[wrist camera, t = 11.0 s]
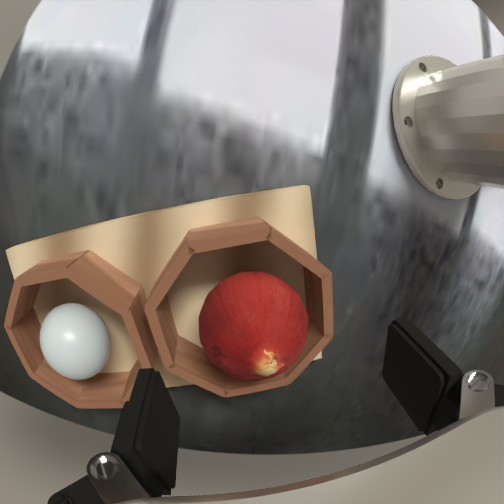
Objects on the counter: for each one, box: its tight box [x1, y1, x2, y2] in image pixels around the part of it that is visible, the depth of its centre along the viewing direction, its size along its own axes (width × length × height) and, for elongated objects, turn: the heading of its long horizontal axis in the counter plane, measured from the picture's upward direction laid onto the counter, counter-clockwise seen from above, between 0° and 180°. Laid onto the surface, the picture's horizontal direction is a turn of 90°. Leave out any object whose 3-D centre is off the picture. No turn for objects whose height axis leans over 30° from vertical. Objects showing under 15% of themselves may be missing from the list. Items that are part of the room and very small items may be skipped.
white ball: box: [40, 303, 111, 380], centre depth 15 cm, size 5×5×5 cm
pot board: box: [4, 185, 334, 408], centre depth 17 cm, size 22×13×5 cm, turn 99°
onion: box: [199, 271, 308, 382], centre depth 15 cm, size 6×6×8 cm
